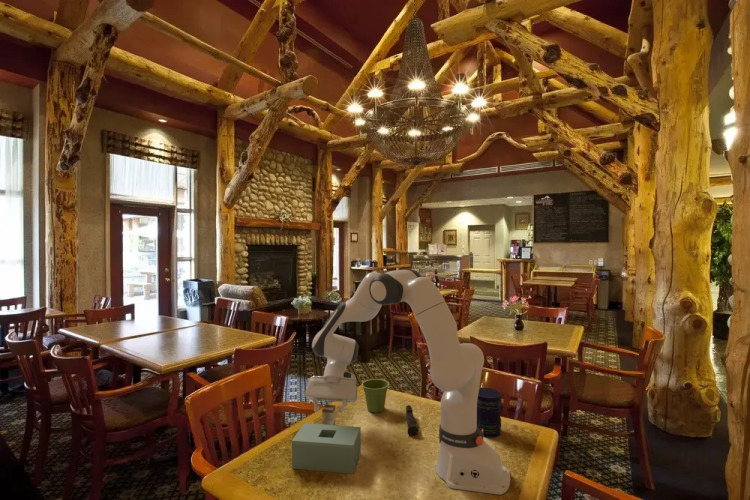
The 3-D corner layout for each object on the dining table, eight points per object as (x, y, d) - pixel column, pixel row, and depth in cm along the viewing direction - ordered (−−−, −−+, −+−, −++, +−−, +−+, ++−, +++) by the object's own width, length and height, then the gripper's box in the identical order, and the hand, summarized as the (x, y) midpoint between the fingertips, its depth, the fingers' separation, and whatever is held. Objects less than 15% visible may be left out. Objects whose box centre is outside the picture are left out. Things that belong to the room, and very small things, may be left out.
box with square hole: (360, 453, 132) (360, 427, 132) (353, 473, 121) (353, 445, 120) (304, 448, 135) (304, 423, 135) (292, 468, 124) (291, 440, 123)
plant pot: (377, 401, 175) (377, 376, 175) (394, 410, 166) (394, 384, 166) (356, 408, 168) (356, 383, 167) (373, 418, 158) (373, 391, 158)
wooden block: (335, 431, 148) (335, 405, 148) (332, 436, 144) (332, 409, 144) (325, 430, 148) (325, 404, 148) (322, 435, 144) (322, 409, 144)
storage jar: (475, 436, 143) (475, 396, 143) (473, 424, 153) (473, 387, 152) (503, 439, 141) (503, 398, 141) (499, 426, 151) (499, 388, 151)
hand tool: (418, 437, 144) (418, 424, 143) (407, 436, 144) (407, 424, 144) (414, 414, 162) (414, 403, 162) (405, 414, 163) (405, 403, 163)
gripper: (307, 372, 154) (299, 406, 145) (358, 374, 151) (352, 410, 142) (311, 379, 159) (303, 413, 149) (360, 381, 156) (355, 416, 146)
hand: (328, 411), depth 146 cm, fingers open, 8 cm apart
